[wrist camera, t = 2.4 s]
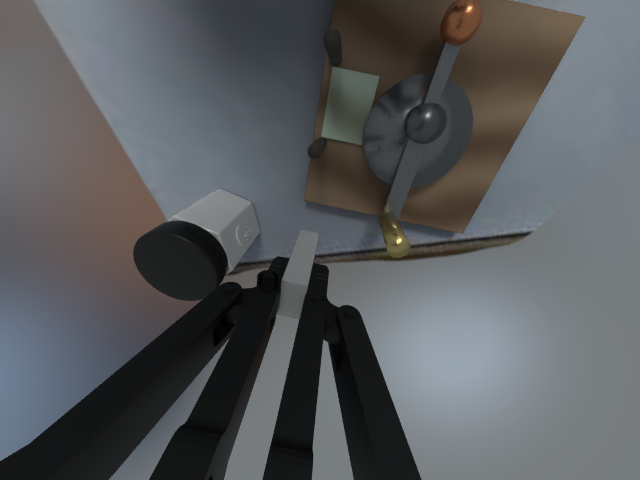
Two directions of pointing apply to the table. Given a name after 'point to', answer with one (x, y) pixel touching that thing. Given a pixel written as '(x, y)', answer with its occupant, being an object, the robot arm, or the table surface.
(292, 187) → the table surface
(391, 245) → the grey metal domed piece
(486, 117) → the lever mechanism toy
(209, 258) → the jar
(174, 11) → the table surface
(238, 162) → the table surface
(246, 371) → the robot arm
